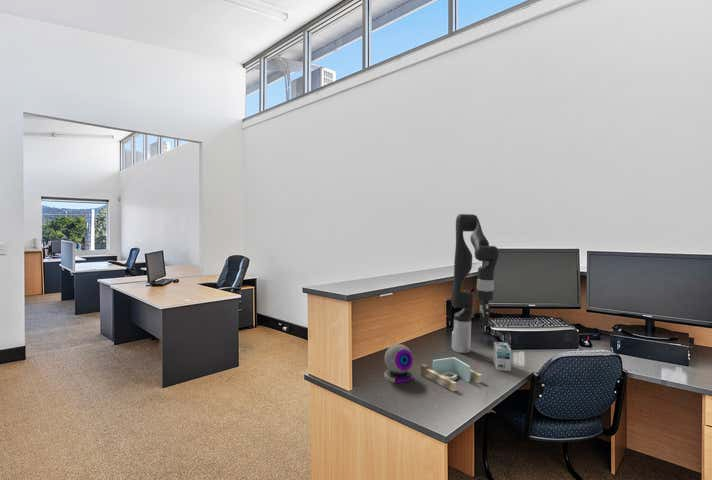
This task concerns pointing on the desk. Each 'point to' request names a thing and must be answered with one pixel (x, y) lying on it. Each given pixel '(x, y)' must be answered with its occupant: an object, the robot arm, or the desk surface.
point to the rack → (446, 381)
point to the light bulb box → (502, 356)
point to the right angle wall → (452, 368)
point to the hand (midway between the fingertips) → (483, 323)
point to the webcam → (398, 364)
